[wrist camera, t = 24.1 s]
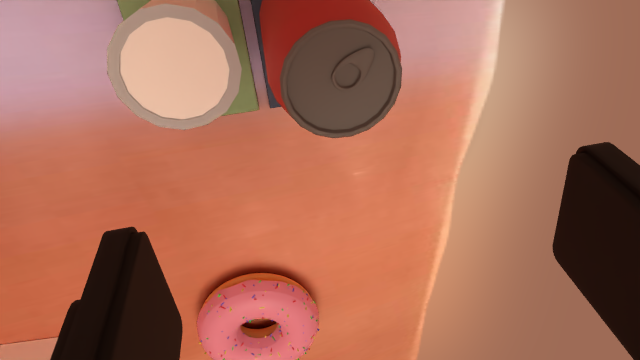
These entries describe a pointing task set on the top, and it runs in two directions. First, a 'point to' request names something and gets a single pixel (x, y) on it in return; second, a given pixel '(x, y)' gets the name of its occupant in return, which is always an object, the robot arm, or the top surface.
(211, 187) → the top surface
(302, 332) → the doughnut
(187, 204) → the top surface
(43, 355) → the milk
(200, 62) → the cup
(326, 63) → the beer can
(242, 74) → the sage mat
